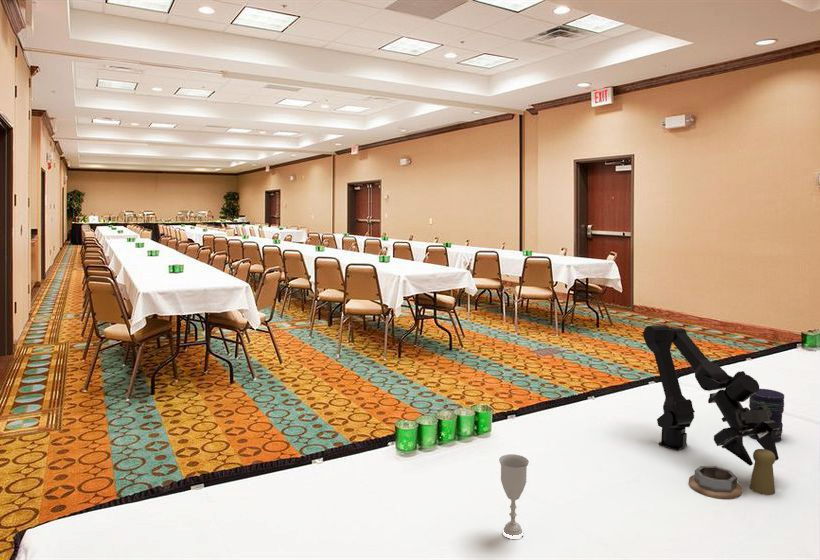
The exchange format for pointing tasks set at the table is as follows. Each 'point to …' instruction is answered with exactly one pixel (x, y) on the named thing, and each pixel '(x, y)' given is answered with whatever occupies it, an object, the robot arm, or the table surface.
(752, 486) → the cork
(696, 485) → the coupling socket
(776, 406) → the storage jar
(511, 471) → the chalice
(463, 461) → the table surface
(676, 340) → the robot arm
